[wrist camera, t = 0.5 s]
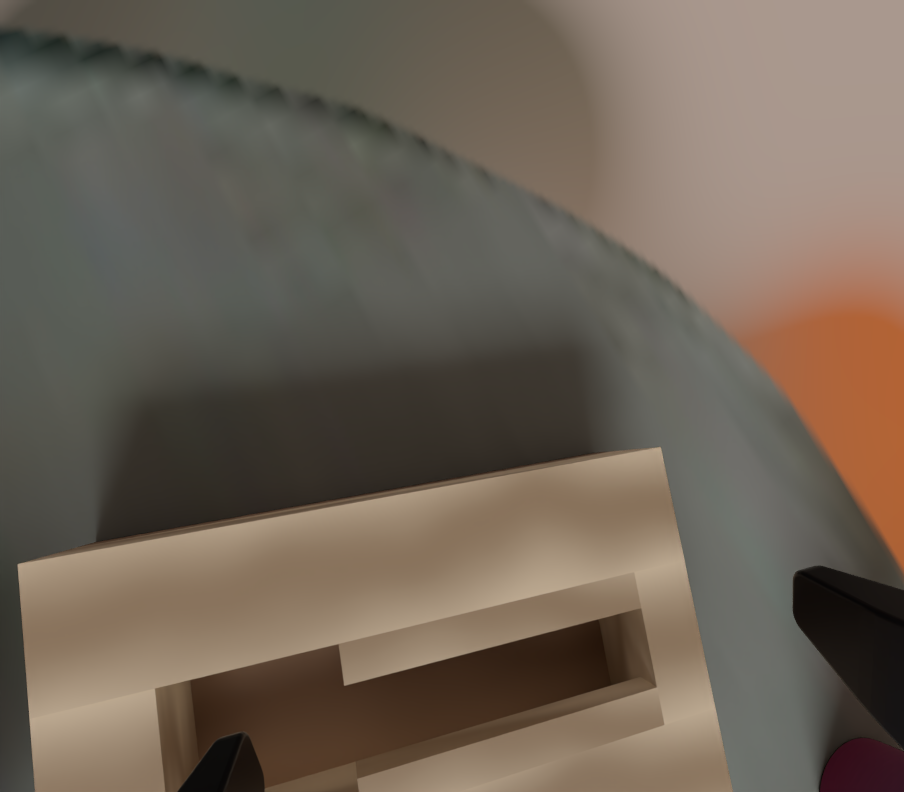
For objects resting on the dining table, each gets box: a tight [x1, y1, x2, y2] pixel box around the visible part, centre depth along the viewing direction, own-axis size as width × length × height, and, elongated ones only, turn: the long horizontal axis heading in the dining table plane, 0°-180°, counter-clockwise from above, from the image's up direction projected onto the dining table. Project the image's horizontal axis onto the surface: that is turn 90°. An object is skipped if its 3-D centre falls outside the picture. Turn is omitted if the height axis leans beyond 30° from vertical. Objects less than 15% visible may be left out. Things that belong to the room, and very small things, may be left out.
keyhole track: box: [18, 447, 733, 792], centre depth 19 cm, size 13×20×5 cm, turn 99°
